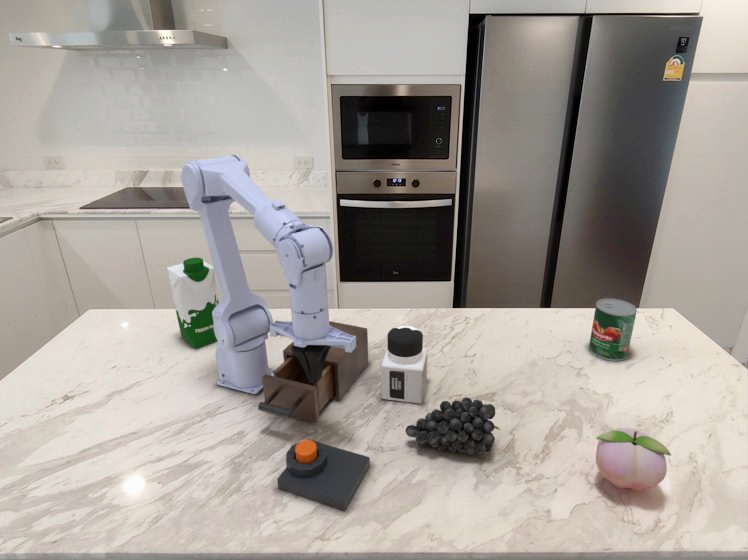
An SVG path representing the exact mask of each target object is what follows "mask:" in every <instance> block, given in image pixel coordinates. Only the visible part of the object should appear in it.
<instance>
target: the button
mask: <svg viewBox="0 0 748 560" xmlns="http://www.w3.org/2000/svg"><path fill="white" fill-rule="evenodd" d="M311 440H312V439H309V440H308V439H305V440H300V441H298V442H297V443H298V444H297V443H296V444H297V445H296V447H295V452H296V460H297V461H298V462H299V463H302V464H308V463H311V462H313V461H315V460H316V458H317V446H316V444H315V442H313V441H314V440H313V441H311Z"/></svg>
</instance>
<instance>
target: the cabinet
mask: <svg viewBox="0 0 748 560" xmlns="http://www.w3.org/2000/svg"><path fill="white" fill-rule="evenodd" d="M329 326H332V327H334V328H336V329H338V330H340V331H342V332H344V333H347V334H349V335H353V336H356V347H355V349H354V350H353V351H352V352H351V353H349V352H345V349H342V348H337V347H332V346H331V348H330V350H329V352H328V354H327V357H326V360H325V364H330V365H334V375H335V391H336V392H335V393H334V394H333V395H332V397H331V398H330V399H329V400H332V401H336V402H341V401H342V399H343V398H344V396H345V395H346V394H347V393H348V391H349V390H350V388H351V387H352V386H353V385H354V383H355V382H356V381H357V379H358V378H359V377H360V375H362V373H363V372H364V370H365V369H366V368H367V366H368V365H369V339H368V338H369V335H368V333H369V332H368V328H367V327H364V326H363V327H362V326H357V325H352V324H347V323H341V322H336V321H332V320H331V321H330V320H329ZM293 345H294V341H293V340H292V342H291V343H290V344H288V345H287V347H285V348H284V349H283V350H282V355H283V363H284V362H285V361H286V360H287V359H288V358H289V357H290V356H294V357H296V356H295V355H294V354H293V353H292V350H291V347H292V346H293Z"/></svg>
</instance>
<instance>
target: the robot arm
mask: <svg viewBox="0 0 748 560" xmlns="http://www.w3.org/2000/svg"><path fill="white" fill-rule="evenodd" d="M180 181H181V184H182V188H183V191H184V196H185V198H186V202H187V203H188V206H189V209H190V210H192V211H195V212H198V214H199V218H200V221H201V226H202V229H203V232H204V235H205V239H206V242H207V247H208V250H209V253H210V257H211V261H212V265H213V267H214V269H215V276H216V277H217V281H218V284H219V288H220V291H221V296H222V298H221V299H220V300H219V301H218V302H219V303H218V305H217V306H216V307H215V308H214V310H213V311H212V317H213V322H214V333H215V336H216V338H217V343H218V344H217V346H216V347H215V348H216V349H215V361H216V367H217V373H218V380H217V381H216V385H218V386H222V387H225V388H228V389H232V390H236V391H240V392H244V393H248V394H251V395H257V394H258V393H260V392H261V391H262V390H264V389H263V382H262V377H263V376H264V375H266V374H267V375H271V376H274V371H275V370H276V369H272V368H269V360H268V352H267V345H266V340H268V339H269V335H270V337H273V338H277V337H278V336H280V337H285V338H288V339H289V340H291V341H292V342H293V341H294V345H293V346H292V347H291V350H292V353H293V354H294V355H295V356H296V357H297V358H298V360H299V361H300V363H301V365H302V366H303V368H304V370H305V373H306V375H307V378H308V380H309V382H311V383H315V384H316V383H317V382H318V381H319V380H320V379H321V378H322V372H323V367H324V363H325V360H326V357H327V354H328V352H329V350H330V348H331V346H332V347H337V348H342V349H345V352H349V353H351V352H352V351H353V350H354V349H355V347H356V336H353V335H349V334H347V333H344V332H342V331H340V330H338V329H336V328H334V327H332V326H329V321H330V314H329V296H328V278H327V265H326V264H327V263H329V262H330V261H331V260H332V258H333V256H334V245H333V241H332V239H331V237H330V235H329V234H328V232H327V231H326V230H325V229H324V227H323V226H320V225H312V224H311V223H308V224H307V223H305V222H304V221H303V220H302V219H301V218H300V217H298V216H297V215H296V214H295V212H293V211H292V210H291V209H290V208H289V207H288V206H287V205H286V204H285V203H284V202H283V201H282V200H279V199H272V200H271V199H270V198H269V197H268V196H267V195H266V193H264V192H263V191H262V189H261V188H260V187H259V186H258V185H257V183H256V182H254V180H253V179H252V178H251V174H250V168H249V165H248V163H247V162H246V161H245V160H244V159H243V157H241V156H240V155H238V154H231V155H227V156H219V157H213V158H204V159H198V160H186V161H185V162H184V163H183V166H182V169H181V174H180ZM233 203H237V204H239V205H240V206H241V207H242V208H244V209H245V210H246V211H247V212H248V213H250V214H251V215H252V216H253V226H254V228H255V229H256V230H257V231H258V232H259V233H260V234H261V235H262V236H263V237H264V238H265V239H266V240H267V241H268V242H269V243H270V244H271V245H272V246H273V247H274V248H275V249H276V254H277V259H278V262H279V263H280V266H281V267H282V270H283V278H284V279H285V282H287V283H288V291H289V303H290V312H291V321H286V320H285V321H283V320H275V321H274V320H273V316H272V313H271V312H270V310H269V308H268V306H267V304H266V300H265V299H264V297H263V296H261V295H259V294H257V293H254V292H252V291H250V287H249V283H248V278H247V276H246V272H245V269H244V265H243V261H242V257H241V254H240V250H239V247H238V243H237V240H236V239H237V238H236V236H235V232H234V229H233V226H232V225H233V224H232V220H231V218H230V215H229V210H230V209H231V208H230V207H231V205H232V204H233Z"/></svg>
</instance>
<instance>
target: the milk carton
mask: <svg viewBox="0 0 748 560" xmlns="http://www.w3.org/2000/svg"><path fill="white" fill-rule="evenodd" d="M166 271H167V276H168V279H169V284H170V288H171V293H172V298H173V303H174V308H175V313H176V318H177V323H178V327H179V331H180V335H181V338H182V339H183V340H184V341H185V342H187V344H189V345H190V346H191V347H192V348H193V349H195V350H197V349H199V348H202V347H204V346H206V345H209V344H212V343H214V342H218V340H217V338H216V336H215V333H214V322H213V317H212V311H213V310H214V308H215V307H216V306H217V305H218V303H219V302H220V301H219V297H218V296H219V295H218V290H217V283H216V271H215V268H214V265H211V264H209V263H208V262H206V261H204V260H203V258H201V257H190V258H187V259H184V260H183V262H182V263H179V264H175V265H172V266H166Z"/></svg>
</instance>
